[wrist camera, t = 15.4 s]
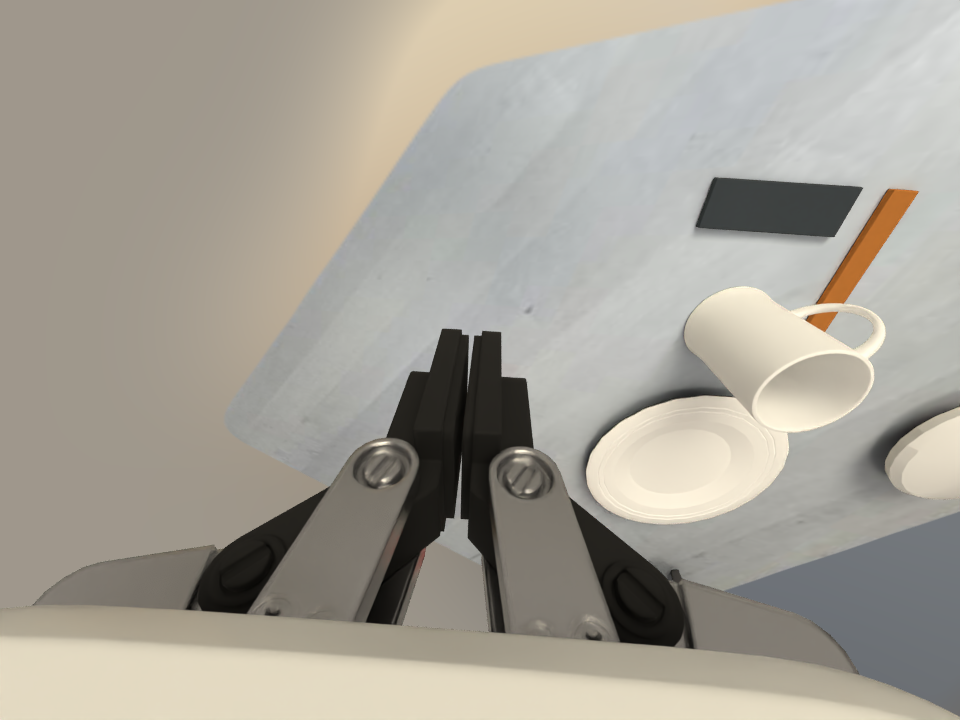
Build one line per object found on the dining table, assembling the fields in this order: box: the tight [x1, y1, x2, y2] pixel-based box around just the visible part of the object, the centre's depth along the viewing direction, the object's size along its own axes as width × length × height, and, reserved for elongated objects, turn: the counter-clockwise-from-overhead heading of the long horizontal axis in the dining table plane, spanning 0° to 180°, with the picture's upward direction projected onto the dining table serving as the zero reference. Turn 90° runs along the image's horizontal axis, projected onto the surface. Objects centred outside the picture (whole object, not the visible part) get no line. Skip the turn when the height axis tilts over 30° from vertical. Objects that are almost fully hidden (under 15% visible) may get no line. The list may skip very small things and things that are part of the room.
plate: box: [586, 395, 789, 525], centre depth 47 cm, size 25×25×2 cm
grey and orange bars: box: [696, 177, 919, 332], centre depth 34 cm, size 18×16×1 cm
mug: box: [684, 287, 886, 433], centre depth 31 cm, size 12×8×12 cm
